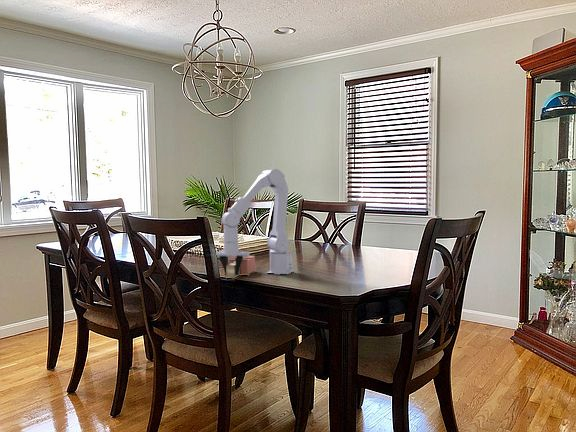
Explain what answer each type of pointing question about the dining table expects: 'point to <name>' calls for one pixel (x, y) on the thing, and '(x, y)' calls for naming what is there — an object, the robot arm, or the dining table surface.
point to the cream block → (232, 270)
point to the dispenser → (245, 264)
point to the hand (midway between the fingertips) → (232, 274)
